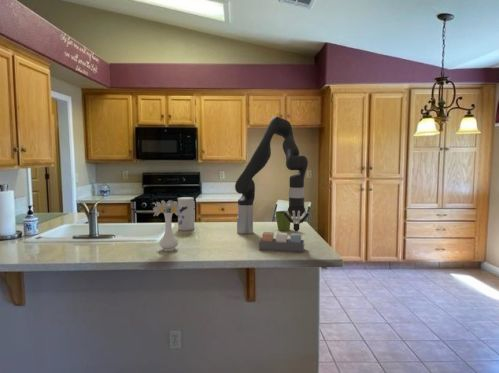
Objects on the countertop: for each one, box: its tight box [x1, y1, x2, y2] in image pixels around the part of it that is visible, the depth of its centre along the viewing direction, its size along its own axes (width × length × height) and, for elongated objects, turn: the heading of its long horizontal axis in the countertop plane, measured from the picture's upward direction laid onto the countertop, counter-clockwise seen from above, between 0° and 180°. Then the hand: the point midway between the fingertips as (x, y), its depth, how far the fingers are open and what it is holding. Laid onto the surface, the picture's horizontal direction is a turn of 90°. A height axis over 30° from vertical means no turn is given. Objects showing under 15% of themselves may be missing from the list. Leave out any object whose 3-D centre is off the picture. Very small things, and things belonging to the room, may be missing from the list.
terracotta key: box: [261, 231, 275, 242], centre depth 182 cm, size 5×5×4 cm
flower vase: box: [152, 199, 182, 252], centre depth 181 cm, size 13×18×25 cm
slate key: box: [289, 232, 302, 243], centre depth 179 cm, size 5×5×4 cm
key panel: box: [258, 237, 305, 254], centre depth 181 cm, size 22×8×4 cm, turn 78°
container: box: [177, 196, 195, 232], centre depth 229 cm, size 10×10×20 cm
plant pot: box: [274, 210, 293, 232], centre depth 226 cm, size 12×12×11 cm
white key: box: [275, 232, 288, 243], centre depth 181 cm, size 5×5×4 cm
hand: (296, 231), depth 179 cm, fingers closed
